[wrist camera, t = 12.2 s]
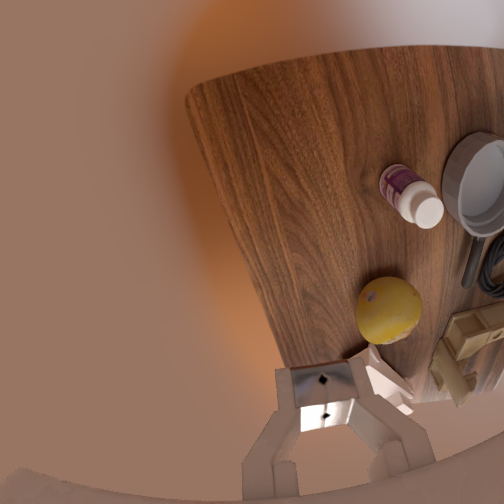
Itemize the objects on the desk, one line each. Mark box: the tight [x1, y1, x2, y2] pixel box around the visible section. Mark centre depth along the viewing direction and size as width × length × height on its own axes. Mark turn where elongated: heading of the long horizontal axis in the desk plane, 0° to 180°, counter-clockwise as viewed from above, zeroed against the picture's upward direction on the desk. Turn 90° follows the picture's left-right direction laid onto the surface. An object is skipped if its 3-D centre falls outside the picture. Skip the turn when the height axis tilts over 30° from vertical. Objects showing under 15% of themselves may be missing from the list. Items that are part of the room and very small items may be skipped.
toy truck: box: [351, 343, 414, 415], centre depth 58 cm, size 25×7×9 cm, turn 43°
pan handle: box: [461, 236, 486, 289], centre depth 43 cm, size 11×2×2 cm, turn 6°
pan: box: [442, 132, 504, 237], centre depth 37 cm, size 15×15×5 cm
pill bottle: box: [379, 164, 444, 229], centre depth 35 cm, size 5×5×10 cm
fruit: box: [356, 277, 422, 344], centre depth 45 cm, size 10×11×10 cm
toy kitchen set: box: [429, 301, 504, 408], centre depth 53 cm, size 18×17×15 cm
